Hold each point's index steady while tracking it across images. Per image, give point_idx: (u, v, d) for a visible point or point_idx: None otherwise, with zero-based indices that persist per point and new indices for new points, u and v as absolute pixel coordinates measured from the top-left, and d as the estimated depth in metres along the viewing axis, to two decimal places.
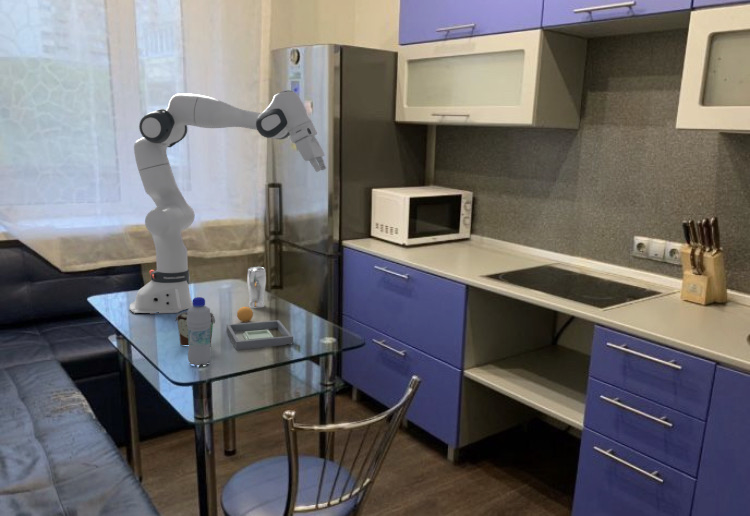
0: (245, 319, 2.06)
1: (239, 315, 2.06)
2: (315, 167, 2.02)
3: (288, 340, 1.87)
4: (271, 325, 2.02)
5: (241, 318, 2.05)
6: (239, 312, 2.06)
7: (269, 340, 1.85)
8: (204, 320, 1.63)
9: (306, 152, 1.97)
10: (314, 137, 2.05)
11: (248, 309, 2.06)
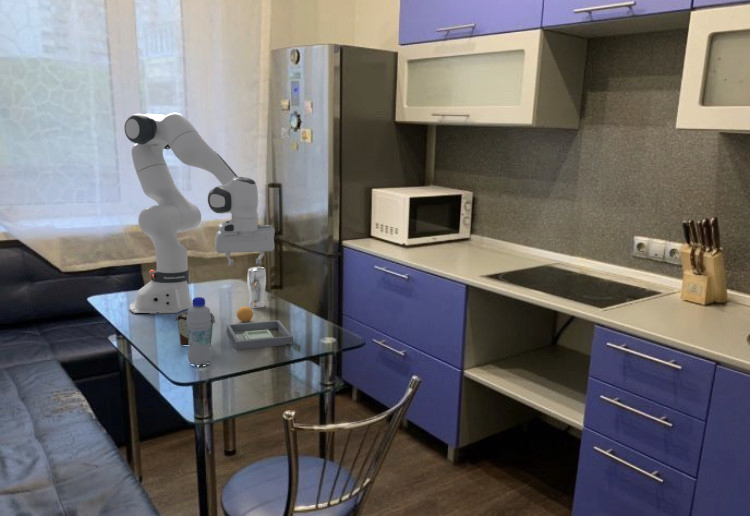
0: (245, 319, 2.06)
1: (239, 315, 2.06)
2: None
3: (288, 340, 1.87)
4: (271, 325, 2.02)
5: (241, 318, 2.05)
6: (239, 312, 2.06)
7: (269, 340, 1.85)
8: (204, 320, 1.63)
9: (215, 245, 1.99)
10: (244, 234, 1.99)
11: (248, 309, 2.06)
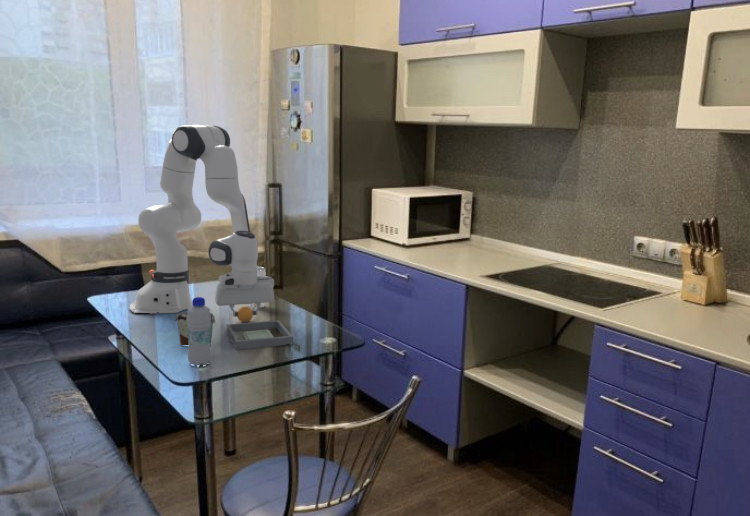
0: (245, 319, 2.06)
1: (239, 315, 2.06)
2: None
3: (288, 340, 1.87)
4: (271, 325, 2.02)
5: (241, 318, 2.05)
6: (239, 312, 2.06)
7: (269, 340, 1.85)
8: (204, 320, 1.63)
9: (215, 298, 2.02)
10: (244, 287, 2.03)
11: (248, 309, 2.06)
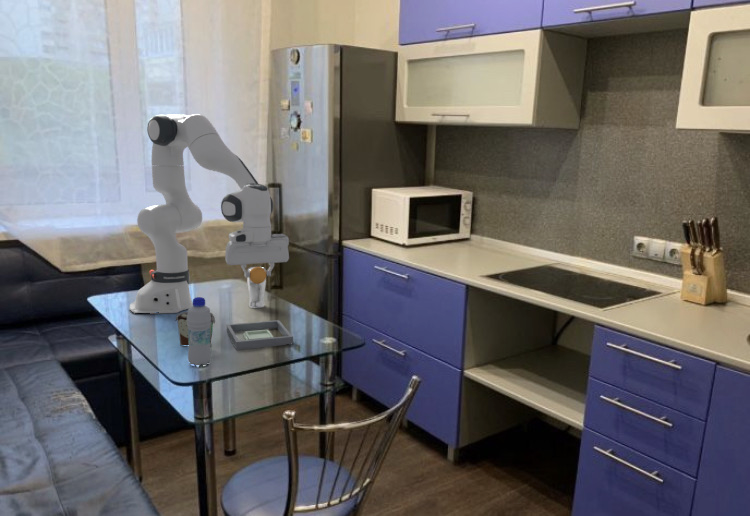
0: (258, 280, 1.89)
1: (251, 276, 1.89)
2: (244, 272, 1.89)
3: (288, 340, 1.87)
4: (271, 325, 2.02)
5: (254, 279, 1.89)
6: (251, 272, 1.89)
7: (269, 340, 1.85)
8: (204, 320, 1.63)
9: (226, 256, 1.86)
10: (257, 244, 1.86)
11: (261, 270, 1.90)
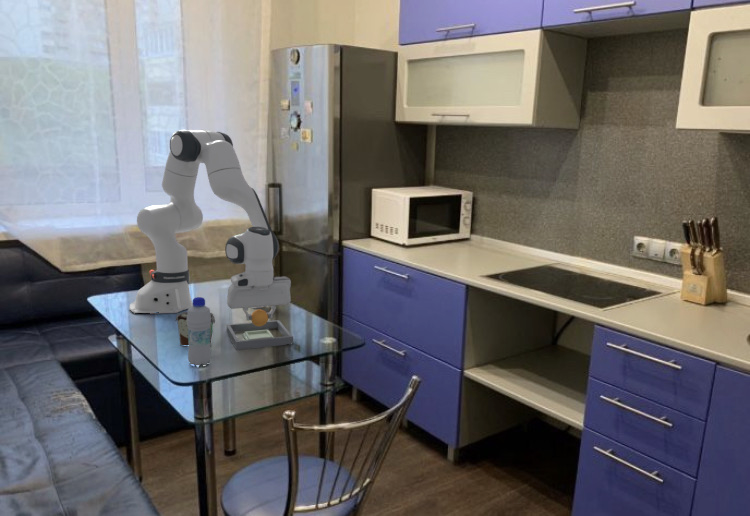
0: (260, 323, 1.89)
1: (253, 319, 1.89)
2: (246, 315, 1.90)
3: (288, 340, 1.87)
4: (271, 325, 2.02)
5: (256, 322, 1.89)
6: (253, 315, 1.89)
7: (269, 340, 1.85)
8: (204, 320, 1.63)
9: (228, 300, 1.86)
10: (259, 288, 1.86)
11: (263, 313, 1.90)
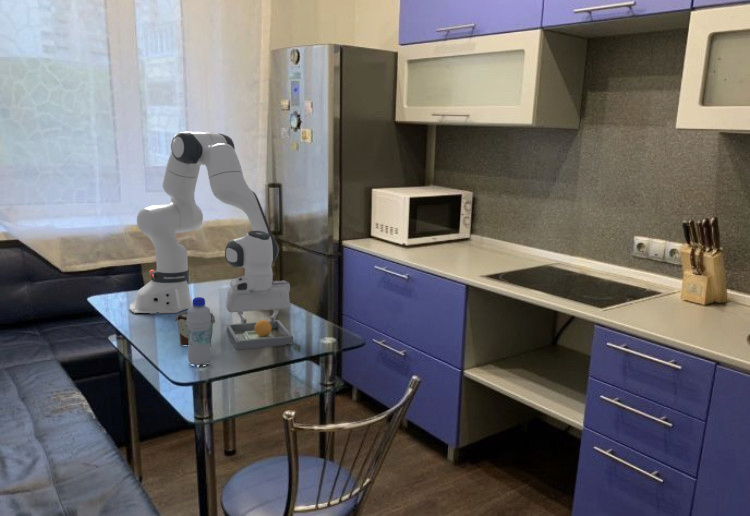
0: (262, 333, 1.90)
1: (258, 326, 1.90)
2: (241, 319, 1.90)
3: (288, 340, 1.87)
4: (271, 325, 2.02)
5: (259, 330, 1.90)
6: (259, 323, 1.91)
7: (269, 340, 1.85)
8: (204, 320, 1.63)
9: (227, 303, 1.86)
10: (258, 292, 1.87)
11: (269, 325, 1.92)
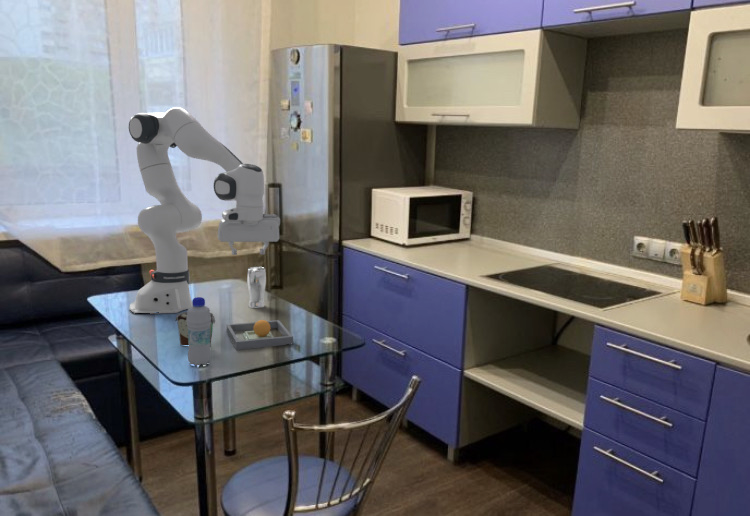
0: (261, 333, 1.90)
1: (257, 327, 1.90)
2: None
3: (288, 340, 1.87)
4: (271, 325, 2.02)
5: (258, 331, 1.90)
6: (258, 324, 1.90)
7: (269, 340, 1.85)
8: (204, 320, 1.63)
9: (218, 233, 1.93)
10: (249, 223, 1.93)
11: (268, 324, 1.91)
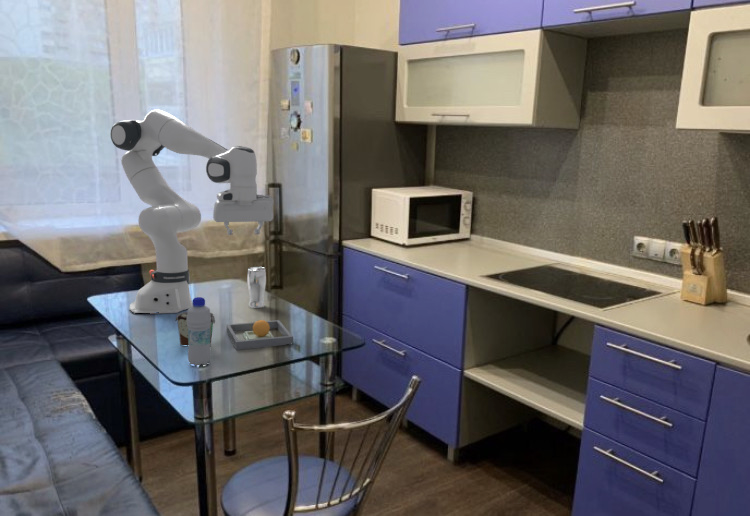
0: (260, 333, 1.90)
1: (255, 327, 1.90)
2: (227, 230, 2.02)
3: (288, 340, 1.87)
4: (271, 325, 2.02)
5: (257, 331, 1.90)
6: (256, 324, 1.90)
7: (269, 340, 1.85)
8: (204, 320, 1.63)
9: (214, 214, 1.99)
10: (243, 203, 1.99)
11: (266, 324, 1.91)
